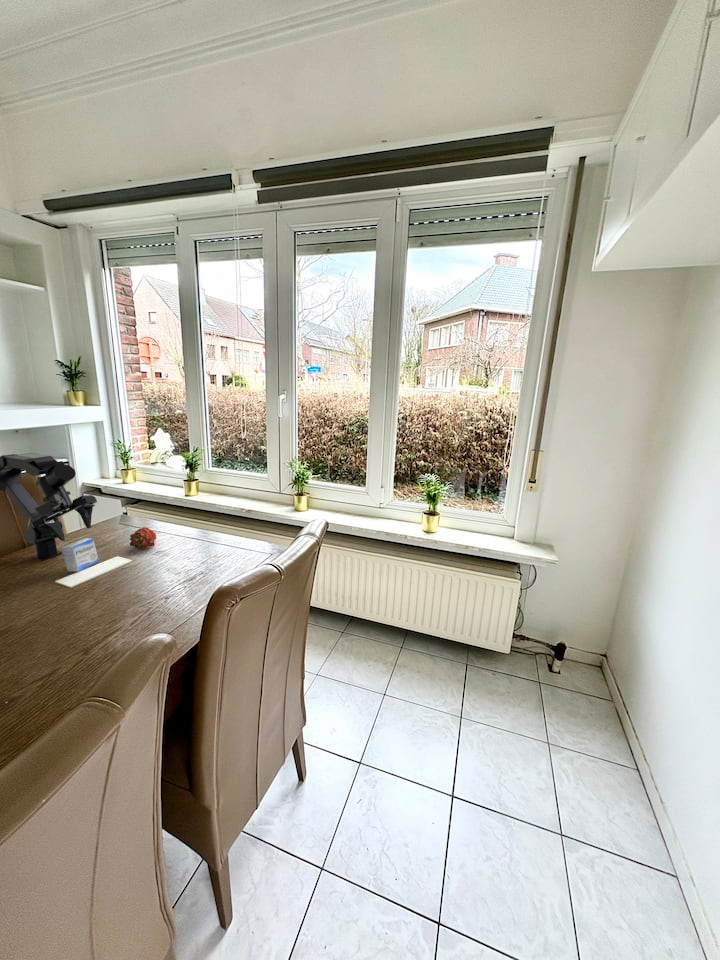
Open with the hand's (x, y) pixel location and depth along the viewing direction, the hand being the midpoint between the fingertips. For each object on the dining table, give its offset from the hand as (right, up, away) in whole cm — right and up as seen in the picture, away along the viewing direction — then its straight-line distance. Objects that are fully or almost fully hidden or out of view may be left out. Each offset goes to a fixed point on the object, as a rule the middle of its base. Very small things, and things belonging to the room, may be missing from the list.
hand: (76, 534), depth 125 cm
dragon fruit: (+11, -8, +19) cm, 24 cm away
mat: (+7, -12, 0) cm, 14 cm away
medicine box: (+1, -11, +2) cm, 12 cm away
